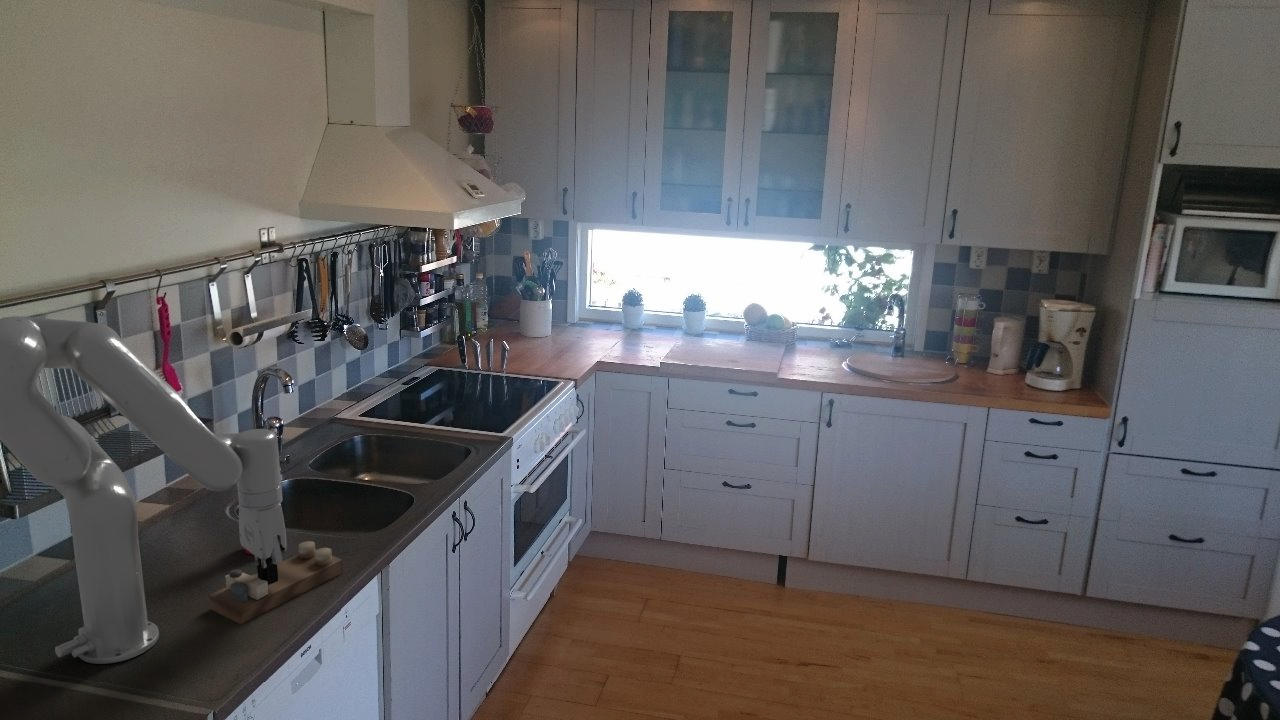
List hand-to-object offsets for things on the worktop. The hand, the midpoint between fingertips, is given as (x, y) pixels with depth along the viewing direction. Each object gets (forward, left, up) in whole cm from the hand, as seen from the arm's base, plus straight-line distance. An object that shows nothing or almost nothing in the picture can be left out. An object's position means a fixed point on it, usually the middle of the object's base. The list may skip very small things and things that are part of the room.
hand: (268, 582), depth 172 cm
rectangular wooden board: (+4, +3, -5) cm, 7 cm away
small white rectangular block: (-3, +2, -1) cm, 4 cm away
